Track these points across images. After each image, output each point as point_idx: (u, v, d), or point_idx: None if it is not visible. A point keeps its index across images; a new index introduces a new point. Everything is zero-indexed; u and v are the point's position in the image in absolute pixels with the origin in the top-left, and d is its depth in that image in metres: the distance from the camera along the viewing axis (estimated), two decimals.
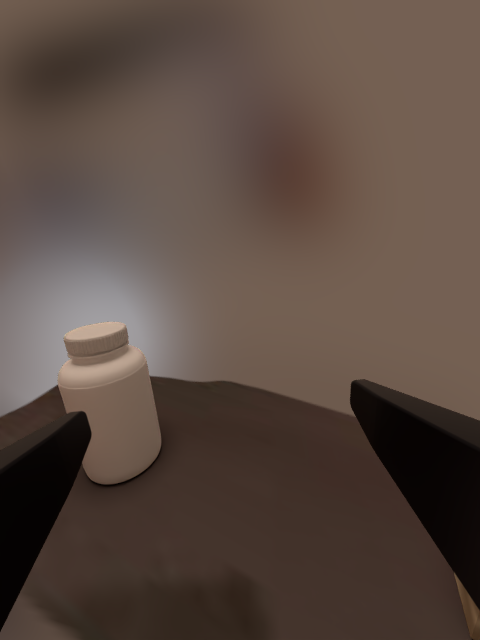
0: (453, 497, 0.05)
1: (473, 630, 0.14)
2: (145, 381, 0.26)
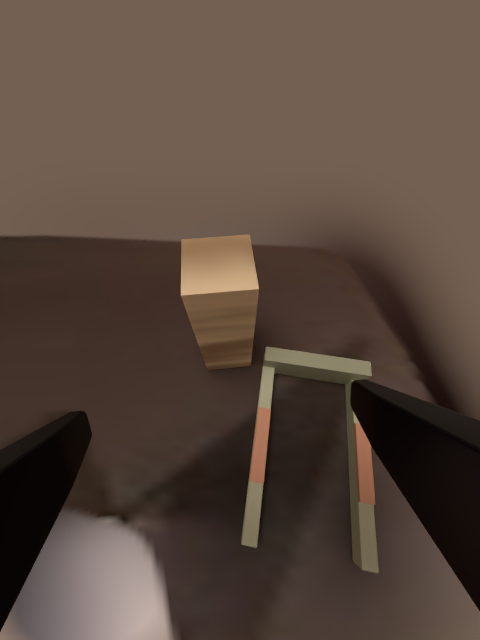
0: (453, 497, 0.05)
1: None
2: None
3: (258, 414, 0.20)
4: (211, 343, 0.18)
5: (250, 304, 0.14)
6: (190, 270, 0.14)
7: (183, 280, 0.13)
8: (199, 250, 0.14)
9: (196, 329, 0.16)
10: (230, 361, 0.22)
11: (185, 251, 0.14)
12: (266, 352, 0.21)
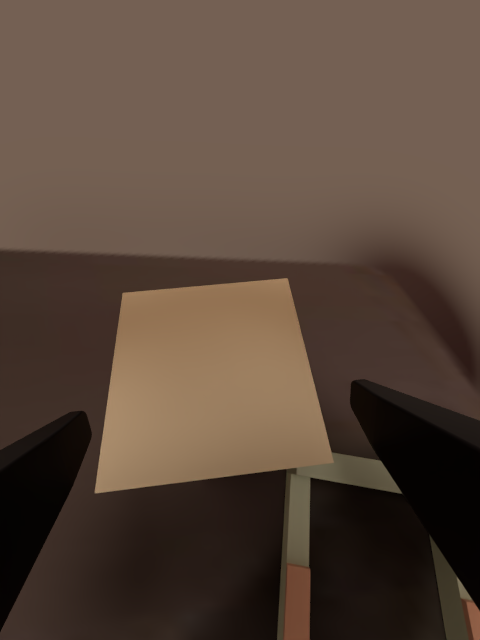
0: (453, 497, 0.05)
1: None
2: None
3: (288, 582, 0.11)
4: None
5: None
6: (135, 390, 0.05)
7: (110, 429, 0.05)
8: (164, 324, 0.06)
9: None
10: None
11: (127, 328, 0.06)
12: None
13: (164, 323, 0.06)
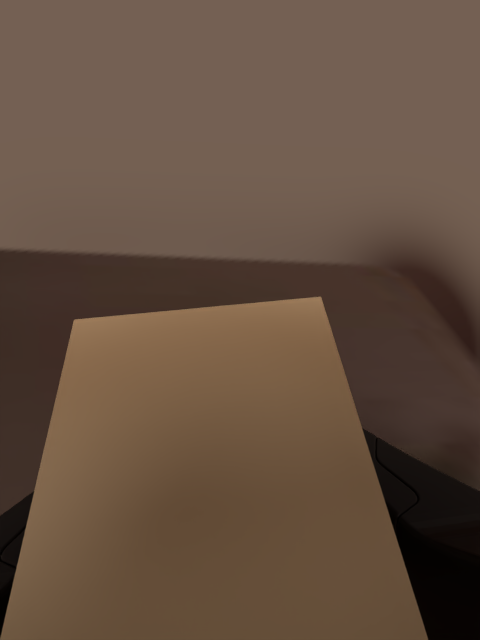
0: None
1: None
2: None
3: None
4: None
5: None
6: (77, 495, 0.03)
7: (26, 579, 0.03)
8: (133, 373, 0.04)
9: None
10: None
11: (76, 379, 0.04)
12: None
13: (134, 370, 0.04)
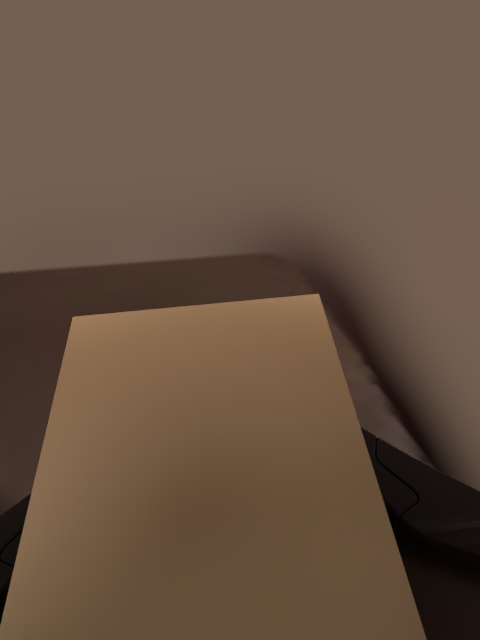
0: None
1: None
2: None
3: None
4: None
5: None
6: (76, 491, 0.03)
7: (24, 573, 0.03)
8: (131, 369, 0.04)
9: None
10: None
11: (74, 375, 0.04)
12: None
13: (132, 366, 0.04)
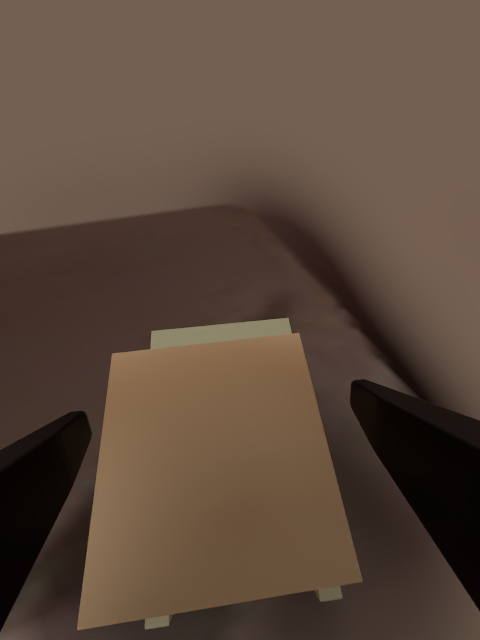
0: (453, 497, 0.05)
1: None
2: None
3: None
4: None
5: None
6: (126, 483, 0.04)
7: (96, 538, 0.04)
8: (159, 394, 0.05)
9: None
10: None
11: (117, 400, 0.05)
12: (152, 338, 0.15)
13: (160, 392, 0.05)
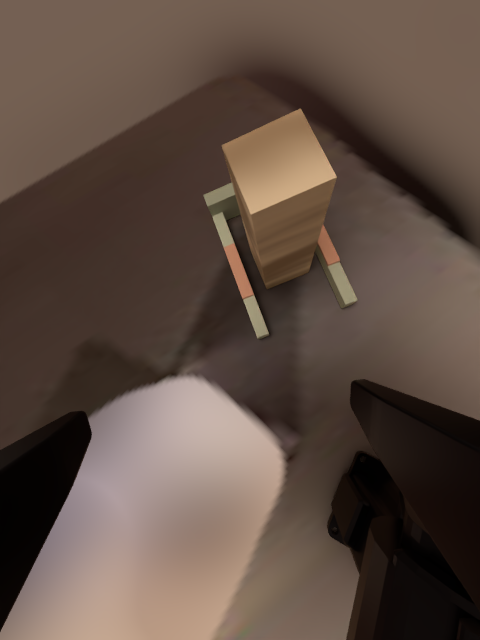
0: (453, 497, 0.05)
1: (266, 287, 0.22)
2: None
3: (226, 252, 0.22)
4: (274, 260, 0.17)
5: (323, 200, 0.12)
6: (248, 180, 0.12)
7: (246, 196, 0.12)
8: (248, 152, 0.12)
9: (261, 249, 0.15)
10: (289, 273, 0.21)
11: (232, 159, 0.12)
12: (206, 199, 0.22)
13: (248, 151, 0.12)
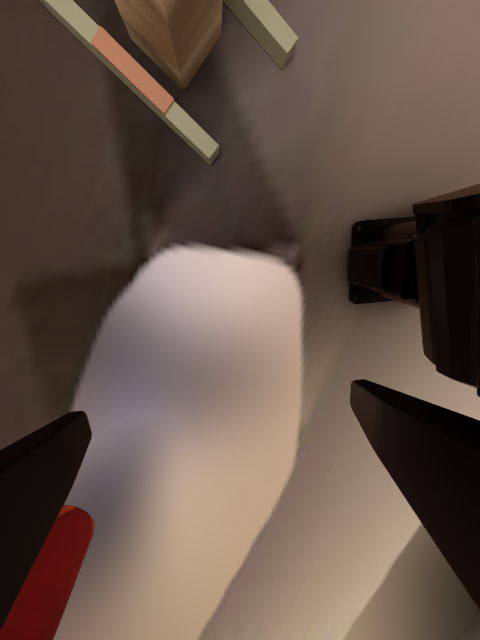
0: (453, 497, 0.05)
1: (182, 84, 0.16)
2: None
3: (100, 49, 0.14)
4: None
5: None
6: None
7: None
8: None
9: None
10: (202, 40, 0.15)
11: None
12: None
13: None
